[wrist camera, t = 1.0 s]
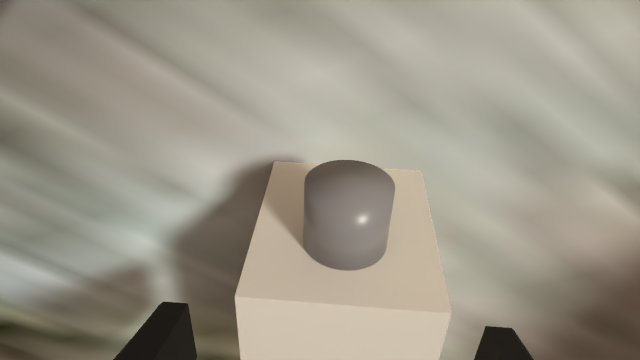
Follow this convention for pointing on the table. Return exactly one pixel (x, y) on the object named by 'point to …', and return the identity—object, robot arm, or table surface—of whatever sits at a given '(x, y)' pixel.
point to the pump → (342, 267)
